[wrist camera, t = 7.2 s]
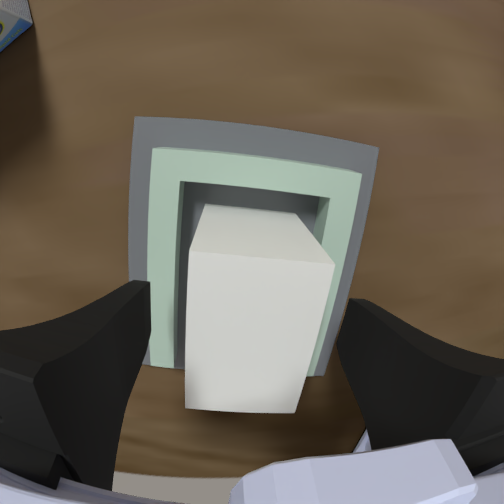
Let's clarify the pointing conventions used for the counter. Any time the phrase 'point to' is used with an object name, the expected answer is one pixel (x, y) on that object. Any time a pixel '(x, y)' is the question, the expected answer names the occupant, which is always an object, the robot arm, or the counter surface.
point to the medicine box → (13, 20)
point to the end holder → (239, 195)
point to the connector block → (252, 309)
